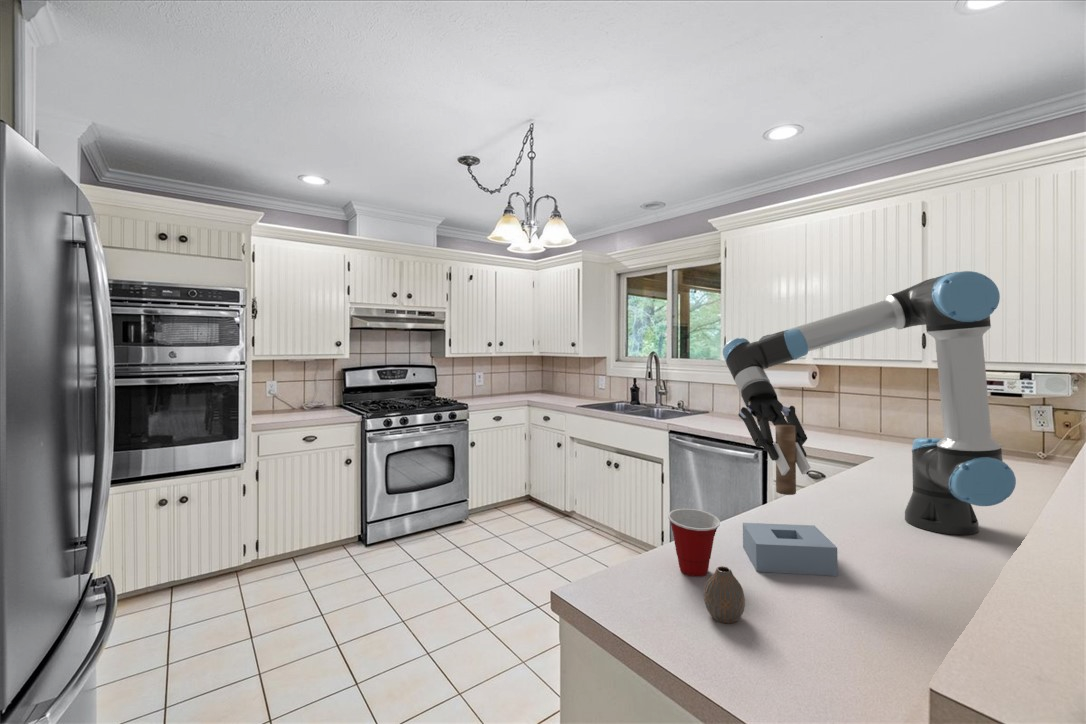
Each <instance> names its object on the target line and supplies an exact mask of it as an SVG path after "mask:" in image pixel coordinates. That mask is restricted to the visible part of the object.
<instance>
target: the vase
mask: <svg viewBox="0 0 1086 724" xmlns="http://www.w3.org/2000/svg"><path fill="white" fill-rule="evenodd" d="M703 597H704V598H703V599H704V605H705V608H706V610H707V612H708V613H709V615H710V616H712V617H711V618H713V619H714V620H715V621H717V622H719V623H723V624H733V623H735V622H737V621H739V620H740V619H741V617H742V615H743V614H744V611H745V607H746V597H745V591H744V589H743V587H742V585H741V584H740V582H739V580H738V579H737V578H736V577H735V575H734V574H733V571H732V569H731V568H730V567H727V566H722V565H721V566H718V567H717V568H716V569H715V571H714V572H713V574H712V575H711V576H710V577H709V578H708V580H707V581H706V584H705V586H704V590H703Z"/></svg>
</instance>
